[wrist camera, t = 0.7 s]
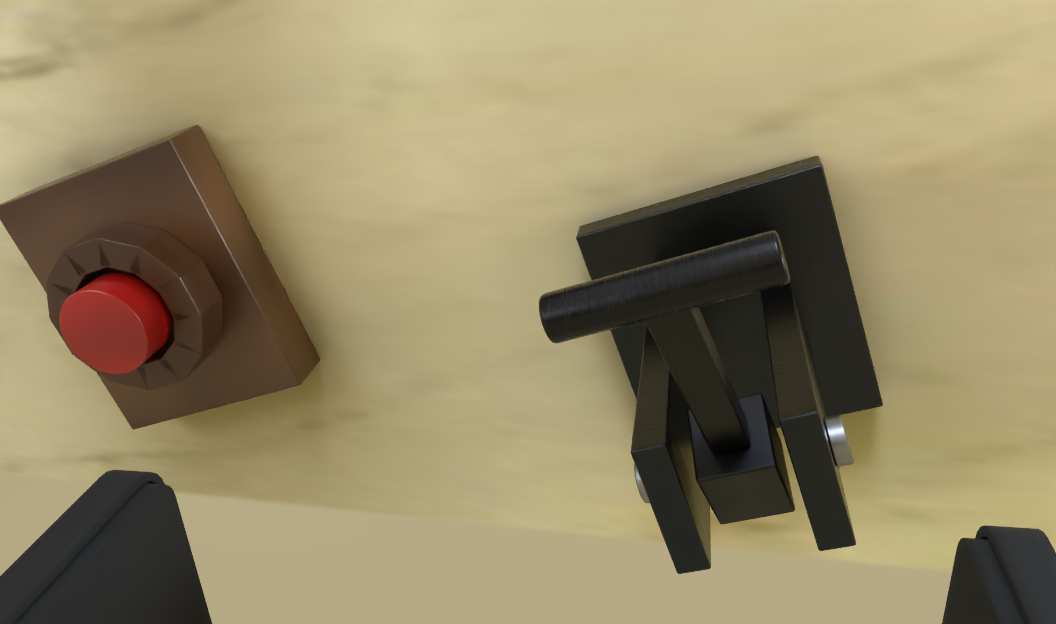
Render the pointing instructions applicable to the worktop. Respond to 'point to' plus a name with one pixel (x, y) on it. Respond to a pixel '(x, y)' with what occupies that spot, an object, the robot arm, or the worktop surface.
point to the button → (115, 322)
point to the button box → (169, 274)
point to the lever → (696, 361)
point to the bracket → (747, 346)
